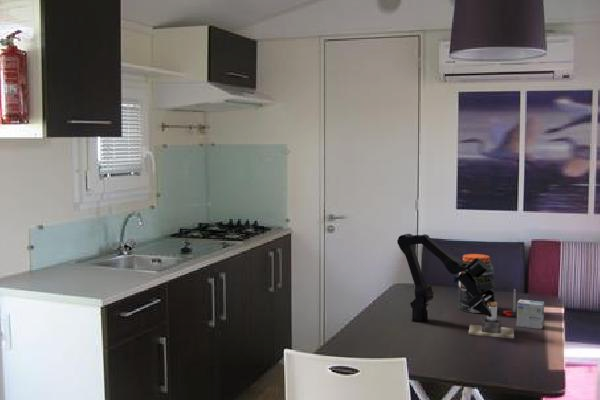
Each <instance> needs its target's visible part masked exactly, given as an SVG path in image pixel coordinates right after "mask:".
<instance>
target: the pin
mask: <svg viewBox="0 0 600 400" xmlns="http://www.w3.org/2000/svg"><path fill="white" fill-rule="evenodd" d="M497 305H498V301H496V300H495V301H488V302H487V308H488V310H489V311H490V313H491V315H492V316H491V317H489V316H487V315H486V318H487V322H493V323H497V319H498V312H497Z"/></svg>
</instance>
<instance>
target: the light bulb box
mask: <svg viewBox="0 0 600 400" xmlns="http://www.w3.org/2000/svg"><path fill="white" fill-rule="evenodd" d="M516 303H517V304H516V311H517V317H516V327H521V328H528V329H529V328H530V329H538V330H542V329H543V327H544V317H545V315H544V314H545V312H544V309H545V302H544V301H539V300H536V301H535V300H528V299H519V300H518V301H517V302H516Z"/></svg>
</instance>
